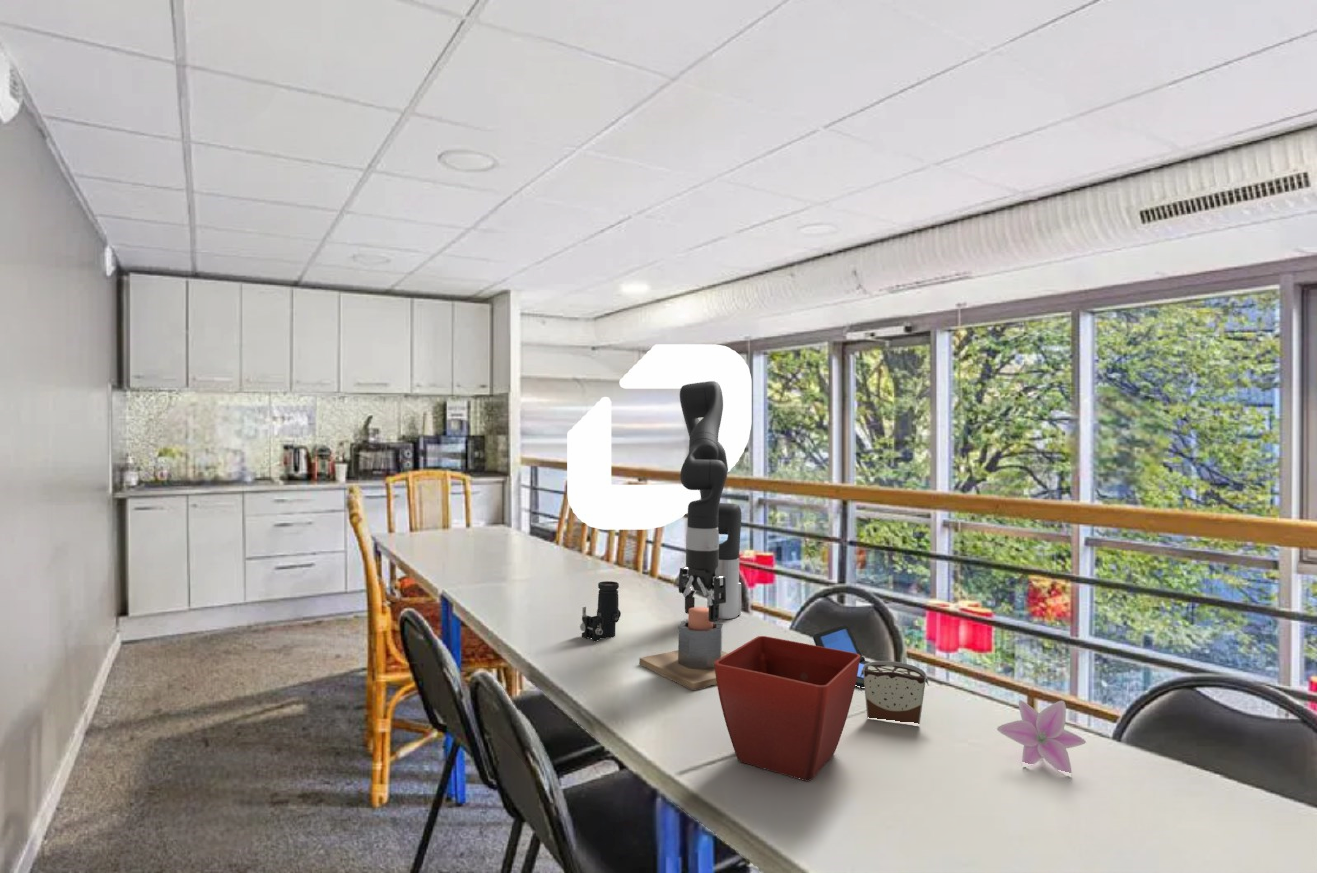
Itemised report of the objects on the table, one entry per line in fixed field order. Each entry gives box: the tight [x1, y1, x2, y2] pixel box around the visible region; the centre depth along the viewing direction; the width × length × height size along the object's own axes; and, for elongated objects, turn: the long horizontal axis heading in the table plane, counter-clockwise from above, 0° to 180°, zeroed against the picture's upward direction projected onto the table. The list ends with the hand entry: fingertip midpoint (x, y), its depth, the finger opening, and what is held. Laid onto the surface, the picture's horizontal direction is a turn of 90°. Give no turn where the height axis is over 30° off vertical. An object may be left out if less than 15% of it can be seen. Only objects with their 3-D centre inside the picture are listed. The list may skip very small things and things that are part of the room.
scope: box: [579, 580, 622, 642], centre depth 189 cm, size 8×14×10 cm
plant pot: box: [714, 635, 860, 781], centre depth 120 cm, size 19×19×17 cm
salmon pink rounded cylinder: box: [687, 606, 713, 630], centre depth 165 cm, size 6×6×6 cm
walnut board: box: [638, 649, 730, 691], centre depth 165 cm, size 20×20×2 cm
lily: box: [996, 699, 1087, 773], centre depth 121 cm, size 12×12×10 cm
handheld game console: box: [812, 624, 870, 687], centre depth 163 cm, size 16×13×9 cm
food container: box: [860, 660, 930, 724], centre depth 139 cm, size 12×6×10 cm, turn 71°
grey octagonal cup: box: [677, 620, 723, 670], centre depth 165 cm, size 10×10×8 cm
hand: (701, 617), depth 165 cm, fingers open, 8 cm apart
